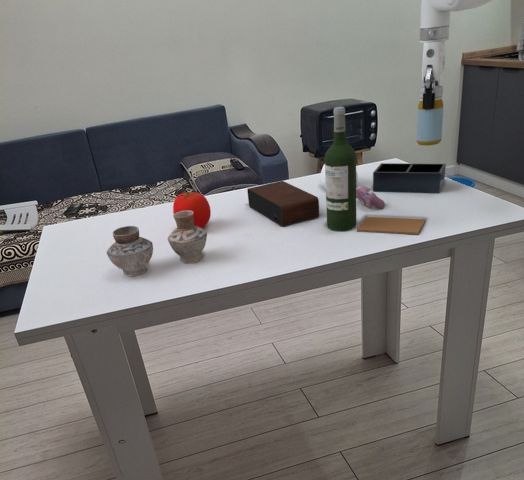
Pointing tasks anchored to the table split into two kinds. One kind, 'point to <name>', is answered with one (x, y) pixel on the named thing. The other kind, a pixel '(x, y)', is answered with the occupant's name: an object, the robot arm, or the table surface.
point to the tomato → (193, 207)
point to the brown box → (283, 203)
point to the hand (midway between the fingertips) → (430, 105)
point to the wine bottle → (340, 178)
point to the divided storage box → (409, 178)
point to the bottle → (430, 120)
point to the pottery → (140, 249)
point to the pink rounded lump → (369, 198)
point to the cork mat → (391, 225)
